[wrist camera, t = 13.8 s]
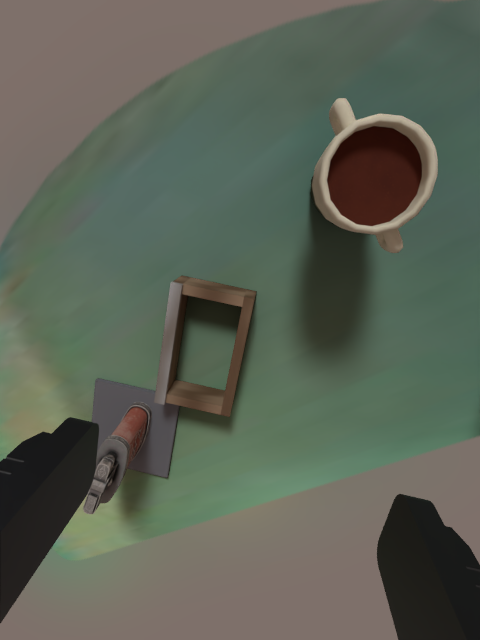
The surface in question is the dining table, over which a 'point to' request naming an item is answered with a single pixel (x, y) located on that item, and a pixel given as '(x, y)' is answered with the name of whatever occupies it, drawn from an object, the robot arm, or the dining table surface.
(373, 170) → the character mug
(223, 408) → the holder
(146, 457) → the mat
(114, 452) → the lighter
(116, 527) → the dining table surface
